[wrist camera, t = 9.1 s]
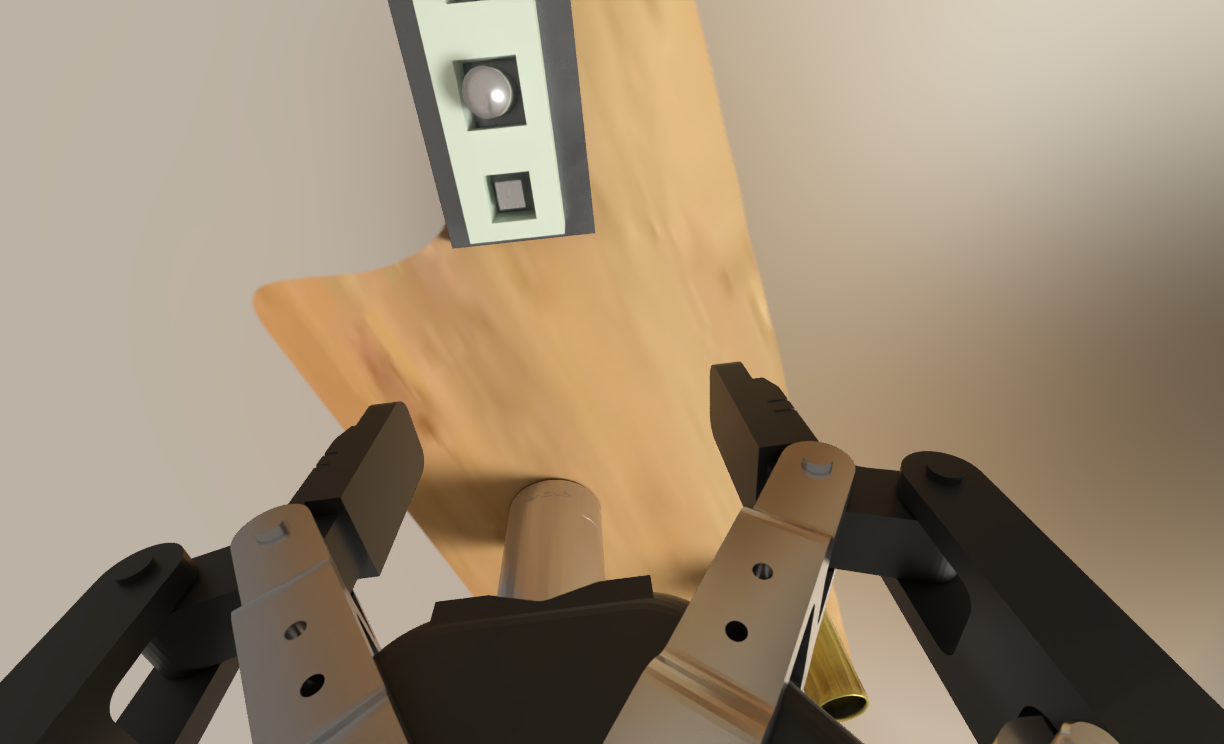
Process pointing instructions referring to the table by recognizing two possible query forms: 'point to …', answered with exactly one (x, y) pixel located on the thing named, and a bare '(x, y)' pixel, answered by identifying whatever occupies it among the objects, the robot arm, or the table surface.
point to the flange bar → (481, 152)
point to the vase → (834, 676)
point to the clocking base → (506, 118)
